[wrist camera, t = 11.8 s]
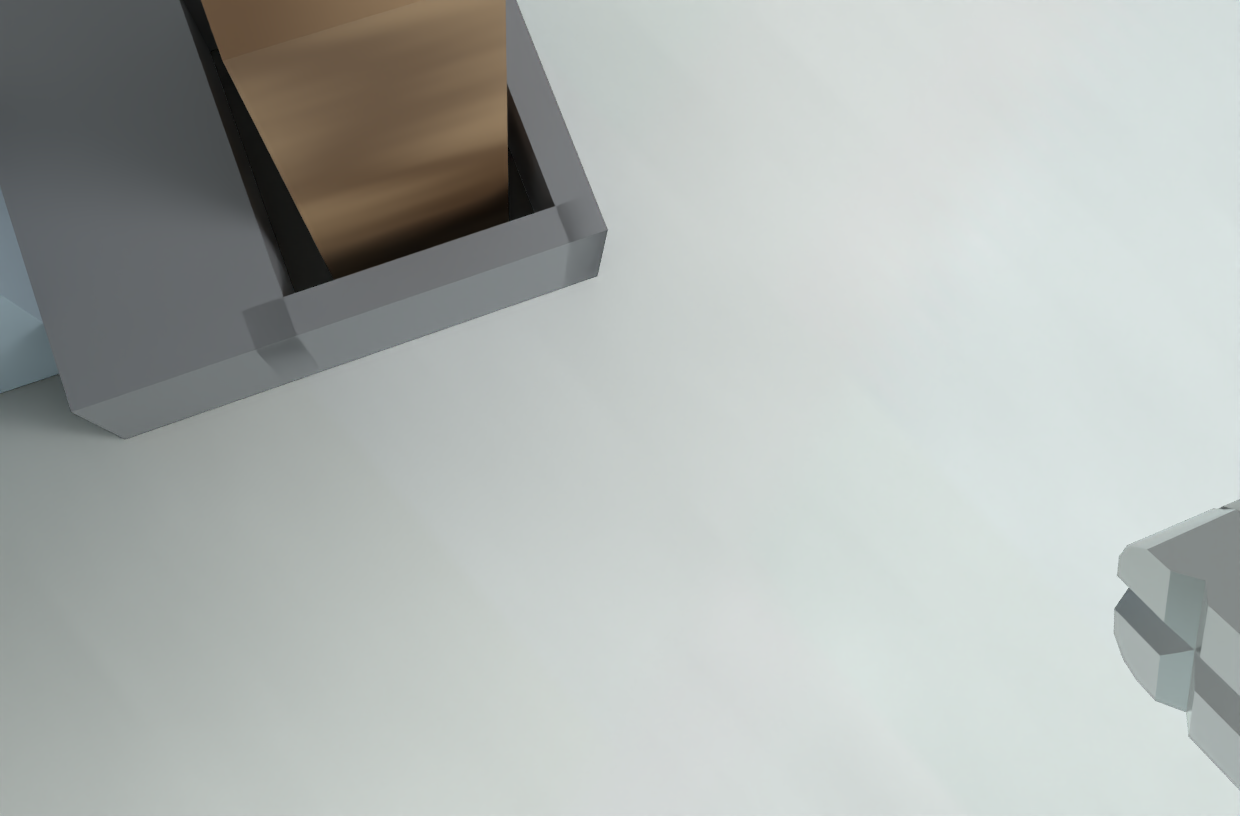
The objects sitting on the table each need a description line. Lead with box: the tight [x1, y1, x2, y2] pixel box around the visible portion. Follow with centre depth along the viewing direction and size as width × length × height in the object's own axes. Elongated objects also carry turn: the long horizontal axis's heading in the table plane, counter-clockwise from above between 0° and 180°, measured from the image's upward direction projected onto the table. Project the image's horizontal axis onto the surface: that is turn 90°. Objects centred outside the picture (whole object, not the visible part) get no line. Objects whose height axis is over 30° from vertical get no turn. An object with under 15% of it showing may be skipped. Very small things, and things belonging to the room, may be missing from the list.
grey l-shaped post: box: [0, 0, 608, 439], centre depth 17 cm, size 16×9×17 cm, turn 111°
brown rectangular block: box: [201, 0, 509, 280], centre depth 21 cm, size 4×6×10 cm
